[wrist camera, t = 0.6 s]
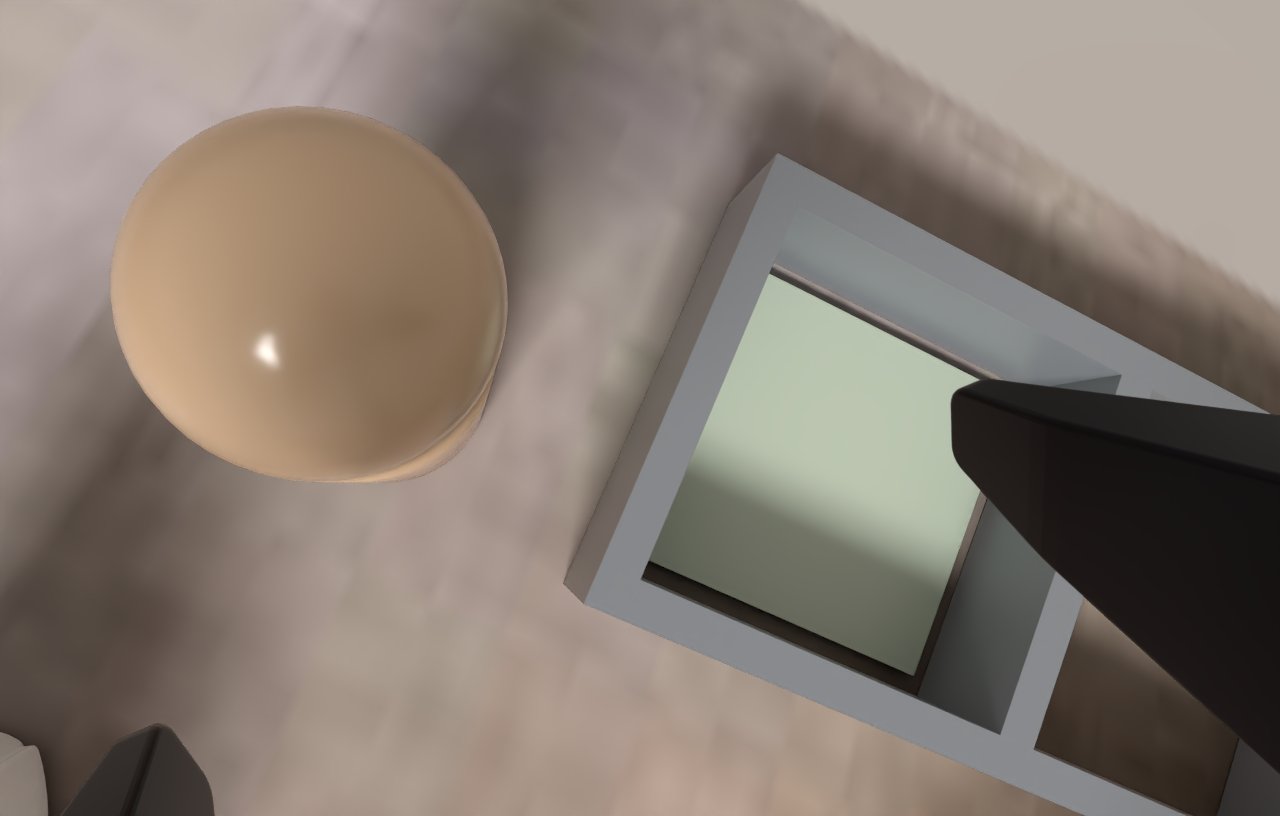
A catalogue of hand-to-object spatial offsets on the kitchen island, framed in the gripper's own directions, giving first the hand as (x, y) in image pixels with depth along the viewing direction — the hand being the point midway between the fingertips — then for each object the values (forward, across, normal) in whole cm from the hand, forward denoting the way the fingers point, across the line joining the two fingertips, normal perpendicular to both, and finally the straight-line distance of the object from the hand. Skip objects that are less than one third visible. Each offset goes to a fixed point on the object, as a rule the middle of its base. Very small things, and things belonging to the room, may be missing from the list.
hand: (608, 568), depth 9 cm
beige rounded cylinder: (+15, +2, +4) cm, 15 cm away
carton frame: (+9, -13, +13) cm, 20 cm away
